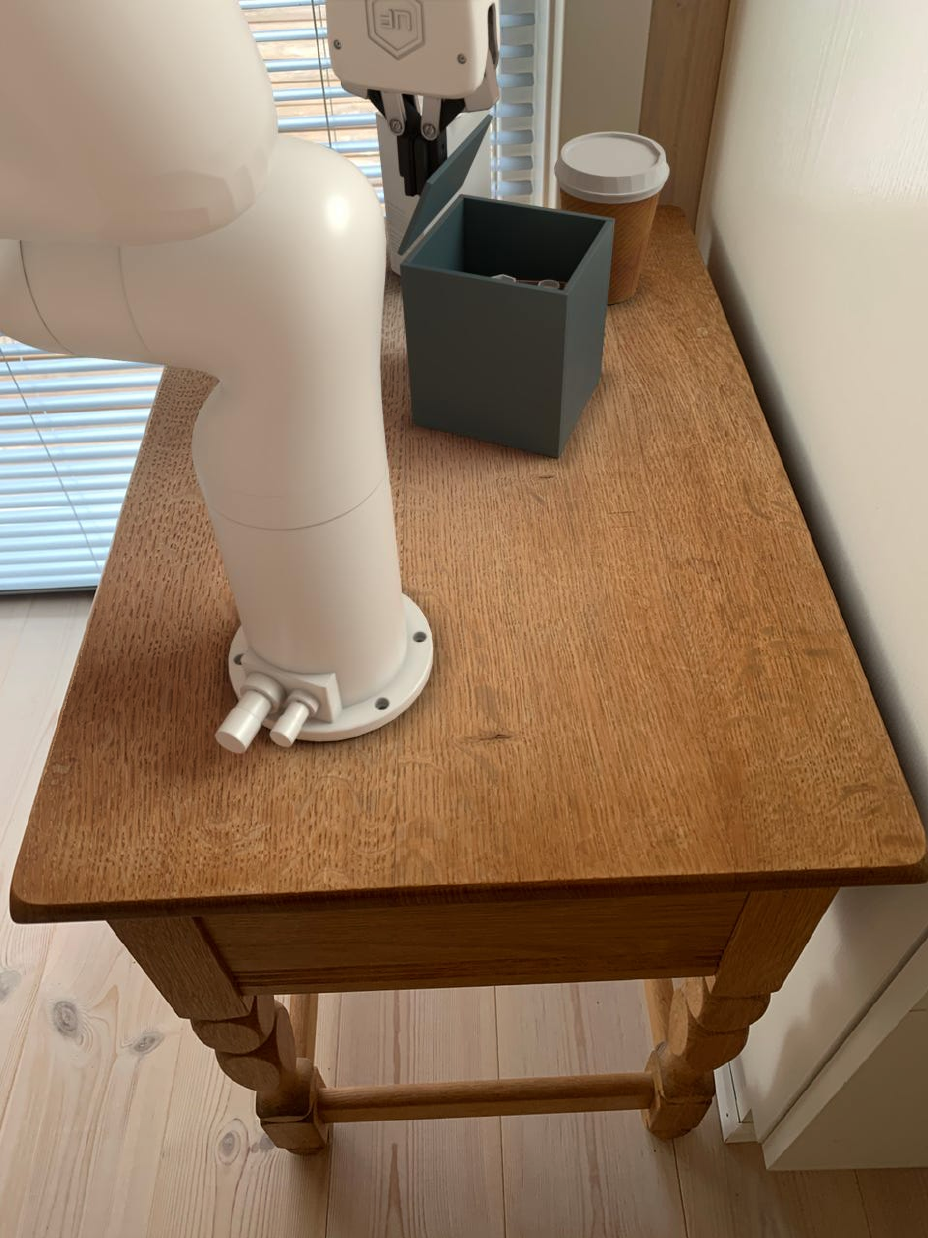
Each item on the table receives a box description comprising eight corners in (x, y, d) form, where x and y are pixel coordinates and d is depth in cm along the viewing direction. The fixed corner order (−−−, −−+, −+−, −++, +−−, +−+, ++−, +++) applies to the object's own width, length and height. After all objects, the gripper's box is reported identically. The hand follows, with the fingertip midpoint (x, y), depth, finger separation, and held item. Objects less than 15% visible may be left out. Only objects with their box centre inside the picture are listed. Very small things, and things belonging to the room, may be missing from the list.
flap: (401, 256, 67) (396, 253, 67) (462, 186, 73) (457, 183, 73) (431, 184, 62) (426, 180, 62) (493, 116, 69) (488, 113, 69)
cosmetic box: (456, 243, 96) (450, 79, 85) (496, 266, 93) (495, 99, 82) (386, 273, 93) (371, 106, 81) (426, 298, 89) (415, 129, 78)
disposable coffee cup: (645, 321, 86) (662, 184, 77) (538, 307, 88) (543, 172, 79) (661, 266, 92) (679, 134, 83) (561, 255, 94) (568, 124, 85)
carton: (412, 424, 77) (399, 264, 67) (465, 349, 84) (460, 193, 74) (558, 458, 74) (567, 295, 64) (600, 377, 81) (615, 217, 71)
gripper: (254, -130, 54) (304, 197, 68) (509, -113, 50) (507, 230, 64) (316, -160, 59) (351, 152, 73) (555, -147, 55) (544, 180, 69)
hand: (424, 188), depth 68 cm, fingers closed
